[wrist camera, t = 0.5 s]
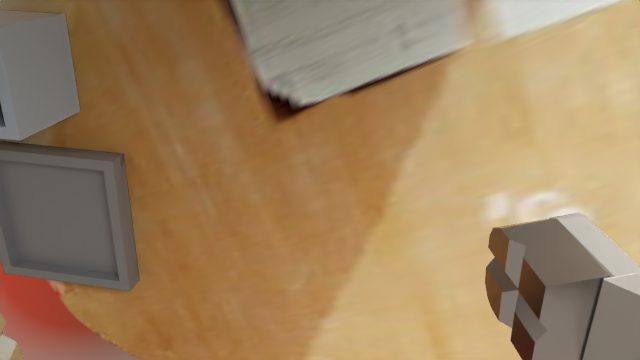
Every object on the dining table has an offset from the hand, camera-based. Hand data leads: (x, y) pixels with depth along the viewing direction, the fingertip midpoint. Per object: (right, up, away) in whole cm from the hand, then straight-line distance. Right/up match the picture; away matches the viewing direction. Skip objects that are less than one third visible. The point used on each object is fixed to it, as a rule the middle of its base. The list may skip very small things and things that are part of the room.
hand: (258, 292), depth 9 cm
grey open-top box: (-25, +12, +38) cm, 47 cm away
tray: (-24, -1, +44) cm, 50 cm away
